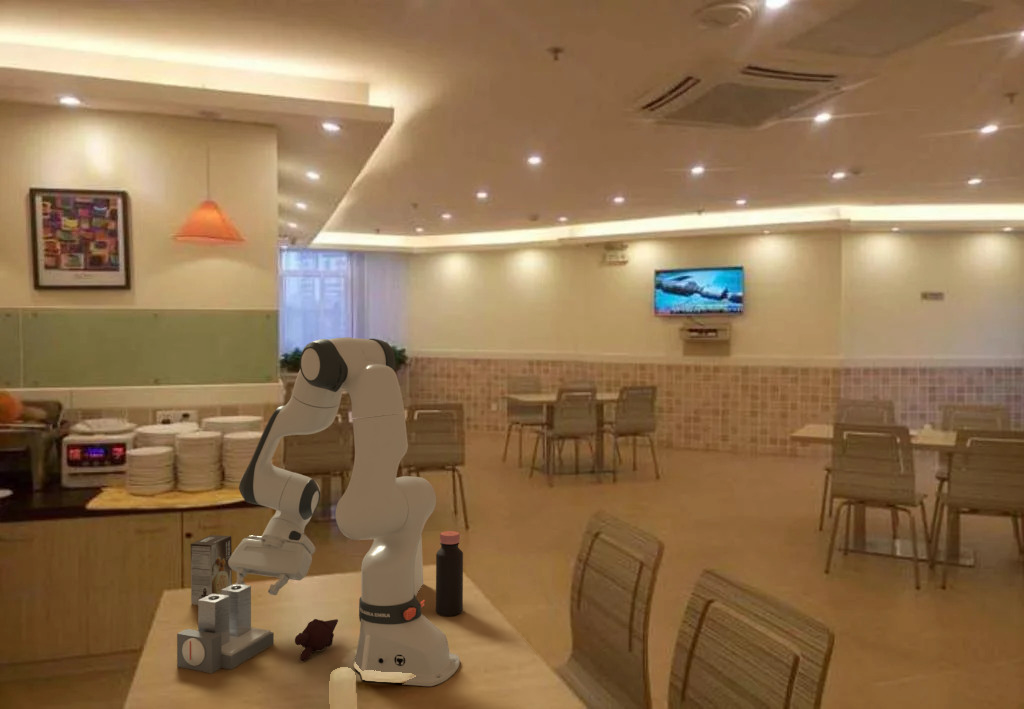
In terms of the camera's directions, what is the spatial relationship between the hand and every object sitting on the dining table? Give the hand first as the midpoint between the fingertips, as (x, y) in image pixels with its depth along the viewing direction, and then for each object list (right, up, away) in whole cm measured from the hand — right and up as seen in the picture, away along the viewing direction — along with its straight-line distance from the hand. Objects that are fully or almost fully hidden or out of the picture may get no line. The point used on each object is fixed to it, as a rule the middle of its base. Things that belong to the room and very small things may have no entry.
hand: (254, 591), depth 174 cm
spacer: (-2, -7, -6) cm, 10 cm away
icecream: (+17, -11, -7) cm, 21 cm away
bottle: (+44, -10, +16) cm, 48 cm away
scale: (-4, -10, -11) cm, 15 cm away
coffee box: (-19, -10, +23) cm, 32 cm away
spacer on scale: (-4, -7, -13) cm, 15 cm away
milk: (+28, -10, +32) cm, 44 cm away
